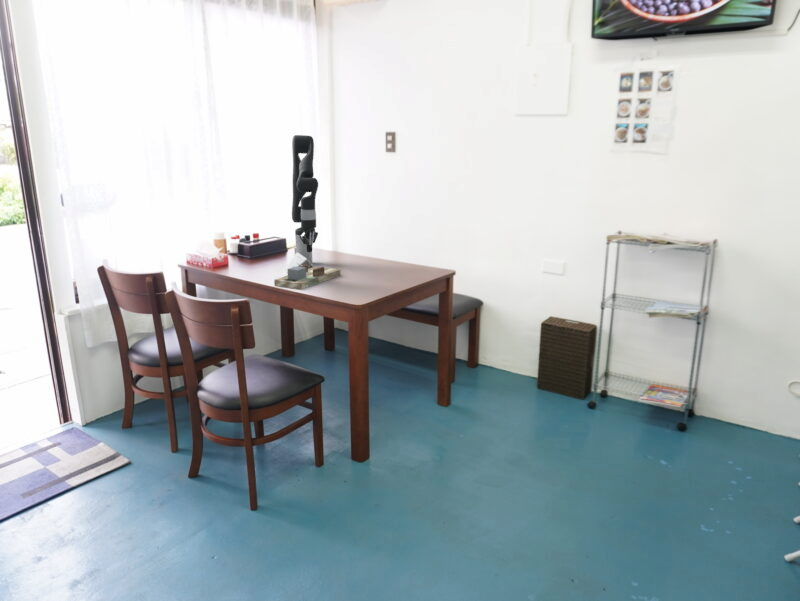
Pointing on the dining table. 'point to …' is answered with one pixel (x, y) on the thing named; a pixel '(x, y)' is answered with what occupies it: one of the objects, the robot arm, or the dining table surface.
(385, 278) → the dining table surface
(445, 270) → the dining table surface
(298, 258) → the bracket
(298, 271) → the grey block
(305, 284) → the tunnel deck
